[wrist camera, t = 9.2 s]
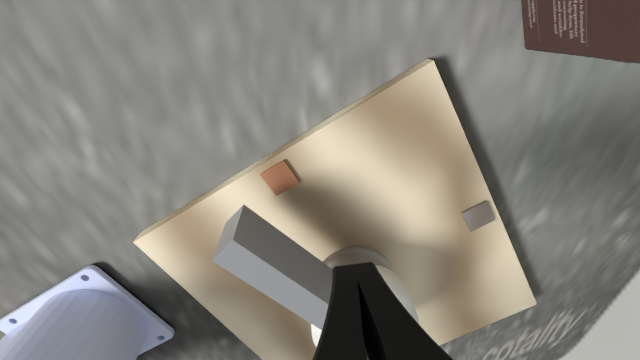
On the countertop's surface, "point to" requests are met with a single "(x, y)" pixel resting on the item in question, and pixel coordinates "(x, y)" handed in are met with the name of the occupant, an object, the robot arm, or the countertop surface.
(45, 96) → the countertop surface
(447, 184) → the post board
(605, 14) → the box
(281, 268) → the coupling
